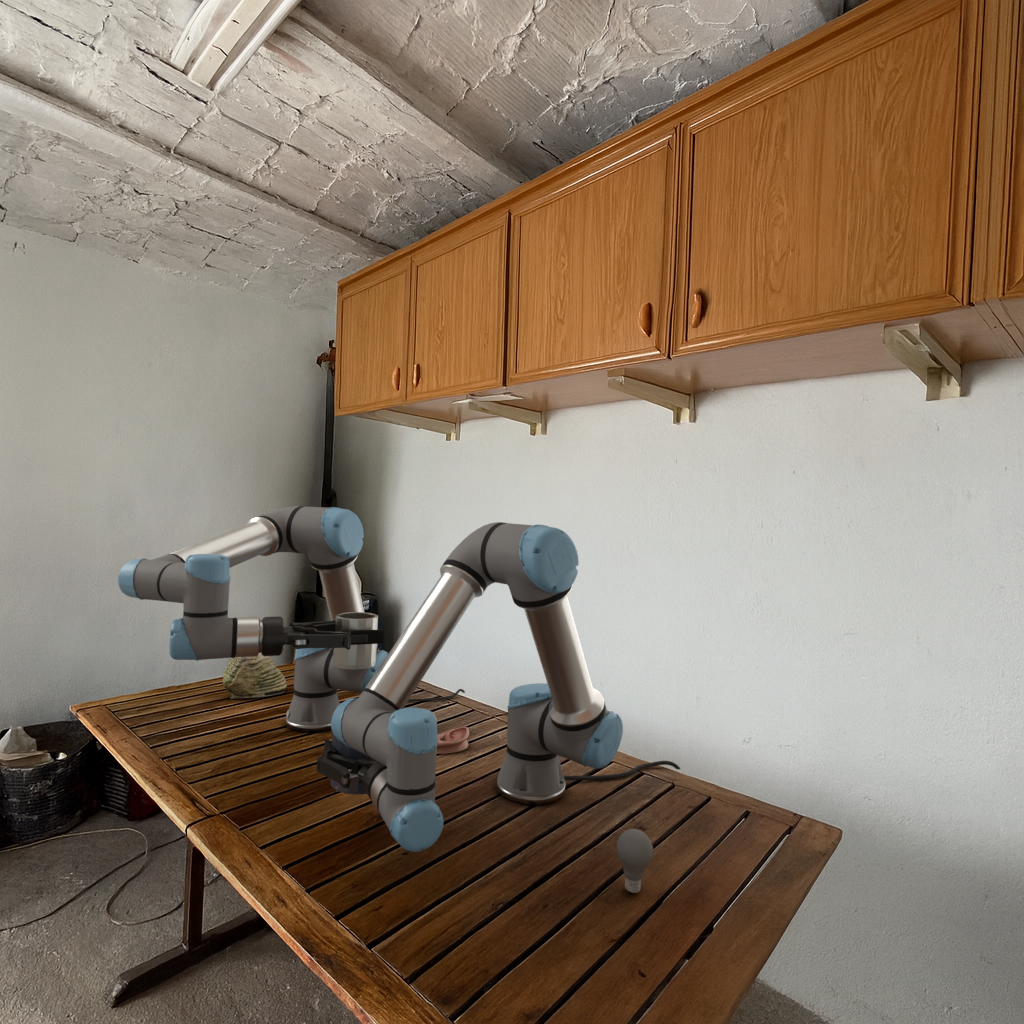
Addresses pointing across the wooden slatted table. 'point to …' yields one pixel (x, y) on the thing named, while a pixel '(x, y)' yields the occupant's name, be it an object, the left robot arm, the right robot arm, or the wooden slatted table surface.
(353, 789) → the tub
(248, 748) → the wooden slatted table surface
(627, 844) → the light bulb
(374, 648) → the cup
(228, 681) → the fossil
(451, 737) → the anatomical model
